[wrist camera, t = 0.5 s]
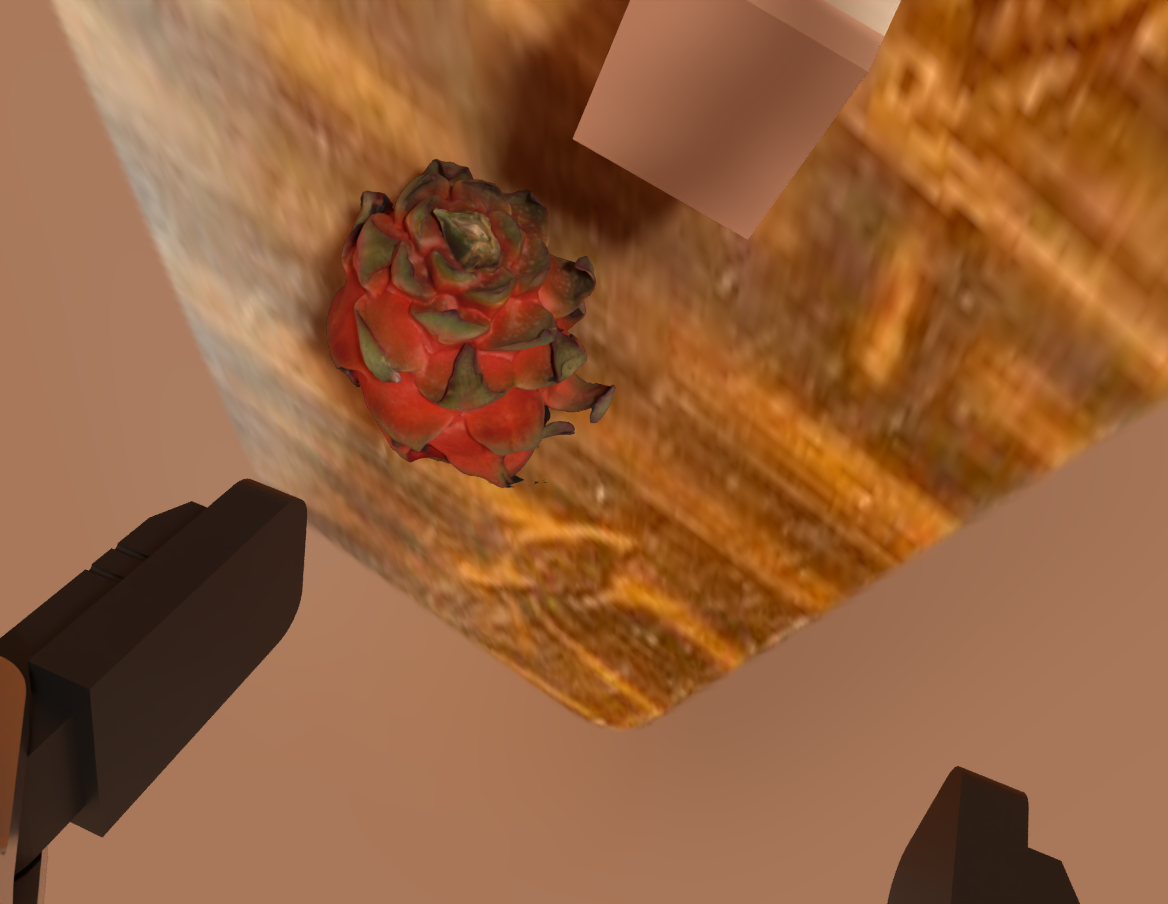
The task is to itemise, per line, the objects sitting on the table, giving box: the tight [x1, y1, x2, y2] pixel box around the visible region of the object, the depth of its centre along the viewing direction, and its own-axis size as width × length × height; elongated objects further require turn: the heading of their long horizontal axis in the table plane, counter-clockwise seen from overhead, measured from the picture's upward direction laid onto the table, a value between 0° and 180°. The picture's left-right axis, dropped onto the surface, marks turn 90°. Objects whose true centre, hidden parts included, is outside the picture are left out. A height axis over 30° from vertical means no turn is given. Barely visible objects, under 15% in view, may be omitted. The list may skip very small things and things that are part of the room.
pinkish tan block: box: [573, 0, 901, 240], centre depth 27 cm, size 5×8×9 cm, turn 156°
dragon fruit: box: [326, 159, 615, 488], centre depth 36 cm, size 8×8×12 cm
